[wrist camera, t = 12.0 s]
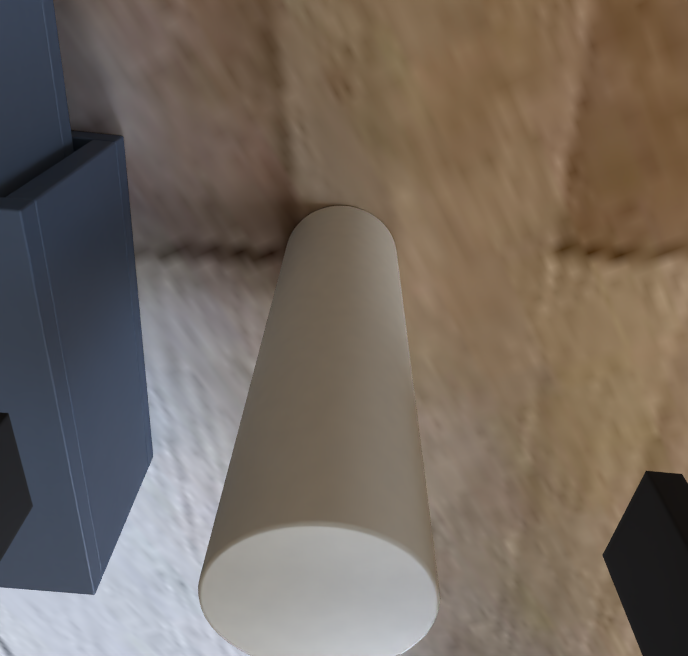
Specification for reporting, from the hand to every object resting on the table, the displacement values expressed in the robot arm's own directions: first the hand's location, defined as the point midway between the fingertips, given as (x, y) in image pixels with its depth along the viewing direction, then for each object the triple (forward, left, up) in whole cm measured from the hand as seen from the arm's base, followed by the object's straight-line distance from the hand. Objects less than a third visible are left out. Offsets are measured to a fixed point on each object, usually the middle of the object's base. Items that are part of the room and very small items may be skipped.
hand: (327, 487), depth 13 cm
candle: (0, 0, -13) cm, 13 cm away
